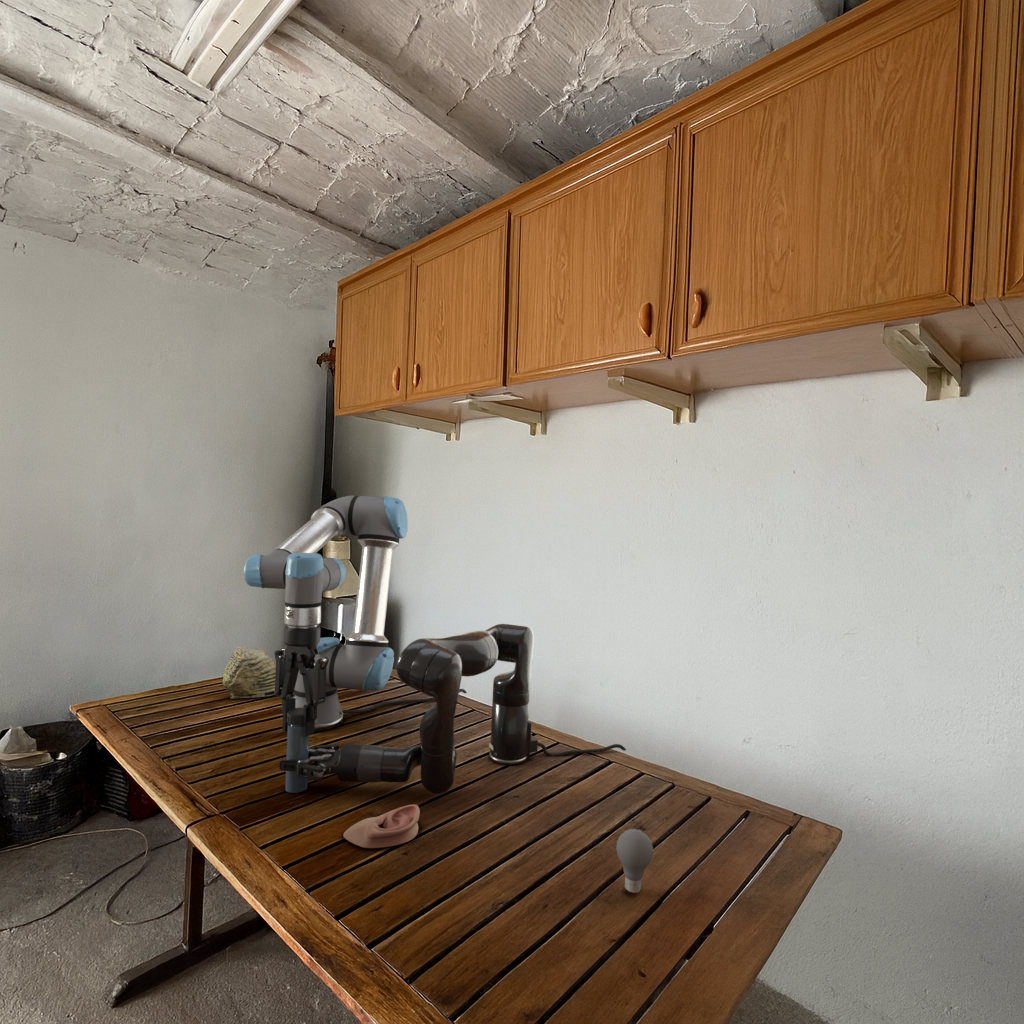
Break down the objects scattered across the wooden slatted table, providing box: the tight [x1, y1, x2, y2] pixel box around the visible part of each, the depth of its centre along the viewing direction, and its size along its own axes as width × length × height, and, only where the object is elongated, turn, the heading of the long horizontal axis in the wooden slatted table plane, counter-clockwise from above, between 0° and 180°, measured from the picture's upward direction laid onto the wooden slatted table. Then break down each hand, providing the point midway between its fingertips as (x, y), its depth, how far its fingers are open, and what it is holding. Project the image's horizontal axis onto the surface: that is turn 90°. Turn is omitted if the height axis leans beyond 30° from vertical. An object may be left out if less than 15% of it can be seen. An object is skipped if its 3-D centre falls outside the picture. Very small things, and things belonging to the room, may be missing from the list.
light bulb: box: [615, 828, 654, 894], centre depth 106 cm, size 6×6×10 cm
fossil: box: [222, 646, 281, 699], centre depth 198 cm, size 9×18×15 cm, turn 132°
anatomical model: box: [342, 804, 421, 849], centre depth 120 cm, size 13×4×12 cm
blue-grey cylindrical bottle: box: [284, 724, 310, 794], centre depth 137 cm, size 5×5×16 cm
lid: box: [286, 708, 303, 725], centre depth 137 cm, size 5×5×2 cm
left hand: (298, 732), depth 137 cm, fingers closed on lid, 5 cm apart
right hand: (285, 759), depth 137 cm, fingers closed on blue-grey cylindrical bottle, 4 cm apart
